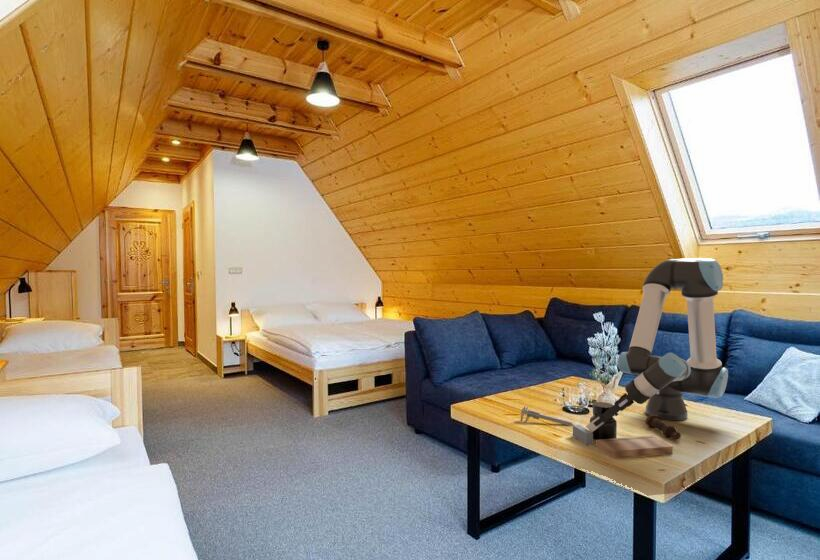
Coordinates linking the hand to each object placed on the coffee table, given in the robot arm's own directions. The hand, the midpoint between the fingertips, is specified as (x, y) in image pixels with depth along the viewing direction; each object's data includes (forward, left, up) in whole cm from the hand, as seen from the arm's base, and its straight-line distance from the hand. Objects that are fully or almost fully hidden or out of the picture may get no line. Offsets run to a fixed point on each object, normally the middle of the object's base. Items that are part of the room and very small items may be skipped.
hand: (593, 425), depth 171 cm
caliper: (+9, -17, -4) cm, 20 cm away
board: (-6, +14, -4) cm, 16 cm away
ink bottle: (-2, +2, -4) cm, 5 cm away
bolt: (-26, +2, -4) cm, 27 cm away
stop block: (+6, +2, -4) cm, 7 cm away
